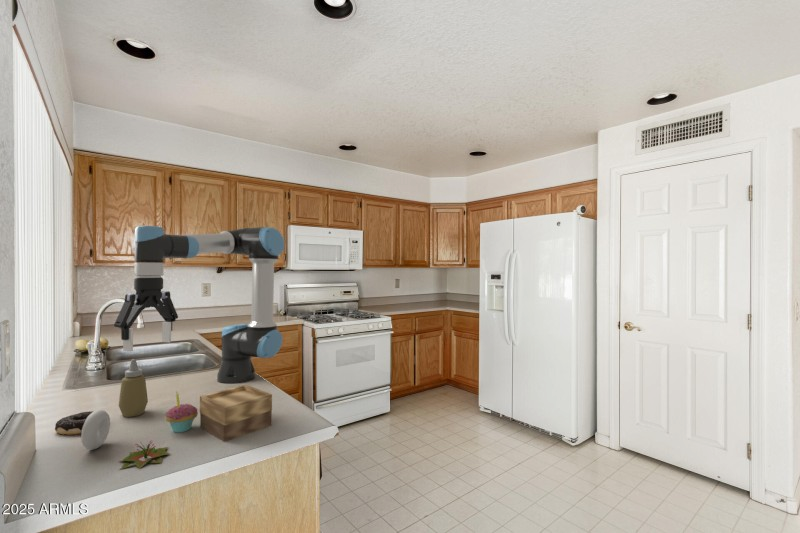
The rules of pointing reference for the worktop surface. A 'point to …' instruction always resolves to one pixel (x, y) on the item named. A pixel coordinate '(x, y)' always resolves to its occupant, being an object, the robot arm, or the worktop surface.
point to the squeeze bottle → (133, 392)
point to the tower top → (235, 404)
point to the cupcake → (181, 416)
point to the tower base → (235, 426)
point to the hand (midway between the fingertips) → (148, 346)
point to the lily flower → (144, 453)
